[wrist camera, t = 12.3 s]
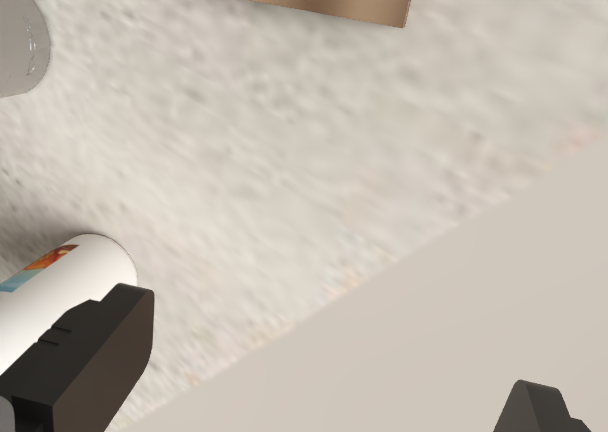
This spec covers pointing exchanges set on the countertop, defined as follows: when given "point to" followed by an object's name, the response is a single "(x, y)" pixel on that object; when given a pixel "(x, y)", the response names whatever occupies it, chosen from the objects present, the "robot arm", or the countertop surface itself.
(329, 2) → the frame
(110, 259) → the milk bottle
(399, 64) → the countertop surface
